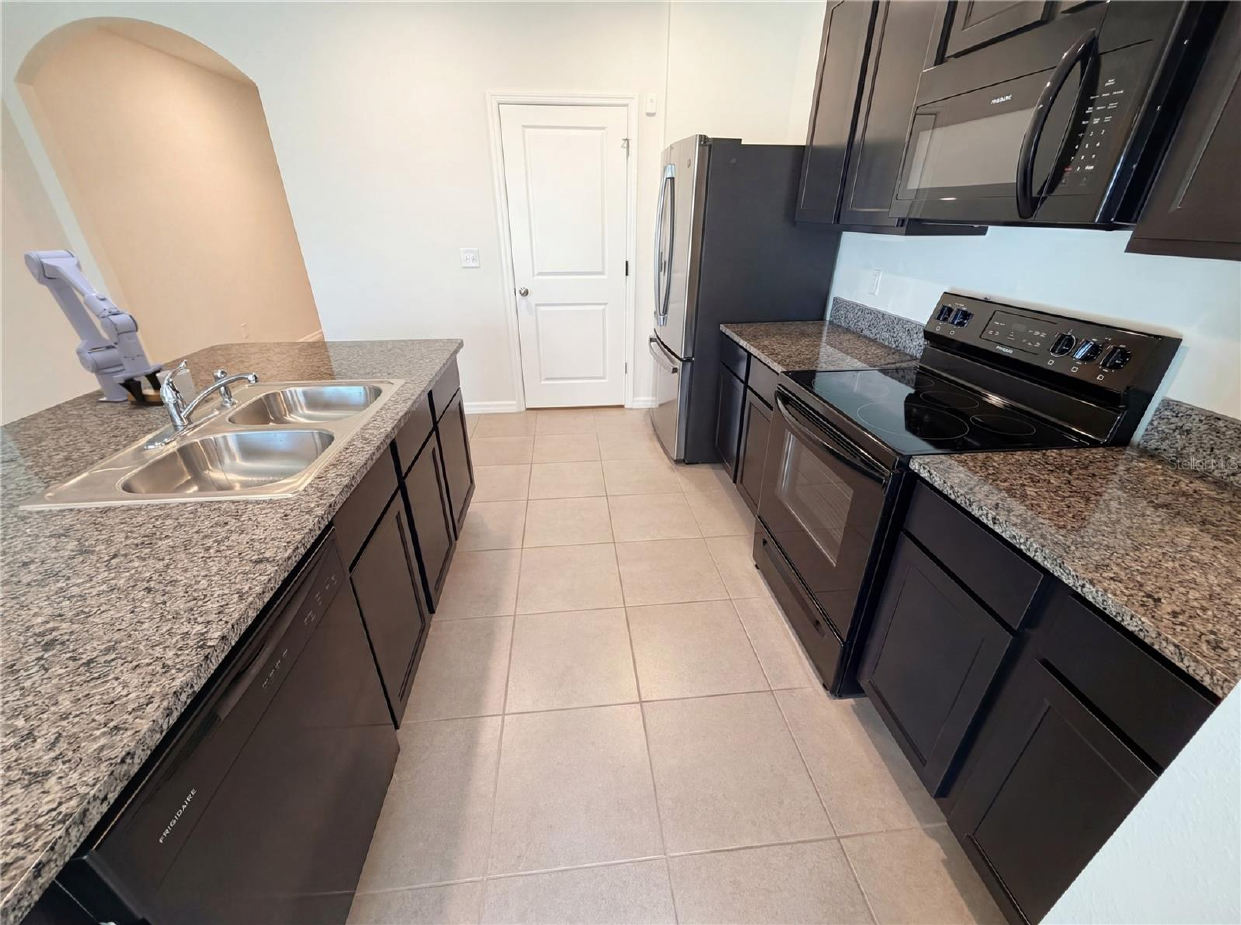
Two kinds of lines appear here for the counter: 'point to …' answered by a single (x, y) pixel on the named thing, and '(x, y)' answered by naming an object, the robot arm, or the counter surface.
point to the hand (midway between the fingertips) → (151, 398)
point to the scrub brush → (147, 398)
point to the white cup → (181, 383)
